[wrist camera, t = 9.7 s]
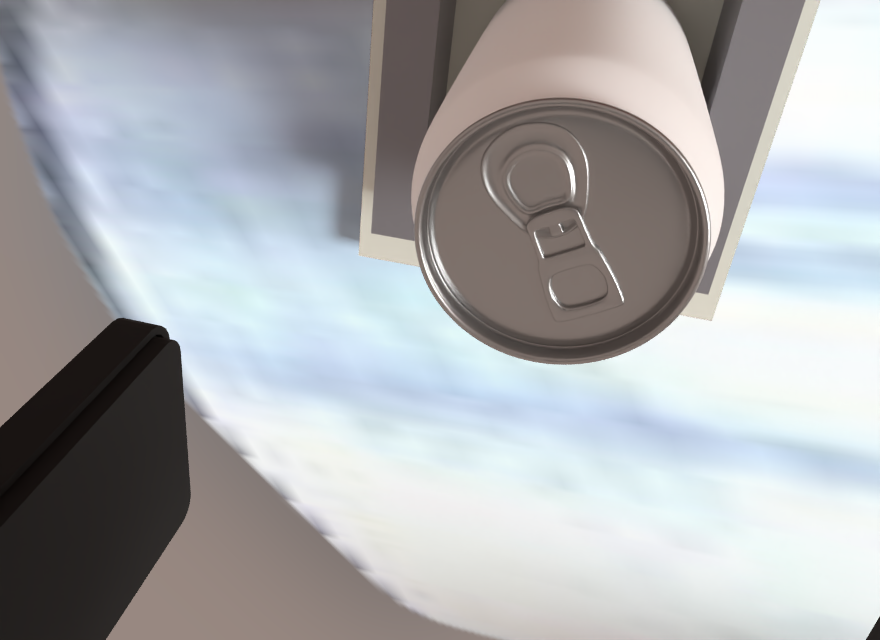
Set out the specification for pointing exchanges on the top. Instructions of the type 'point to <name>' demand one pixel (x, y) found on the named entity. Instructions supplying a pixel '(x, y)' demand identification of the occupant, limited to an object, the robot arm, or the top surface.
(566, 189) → the can
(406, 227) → the socket board
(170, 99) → the top surface
